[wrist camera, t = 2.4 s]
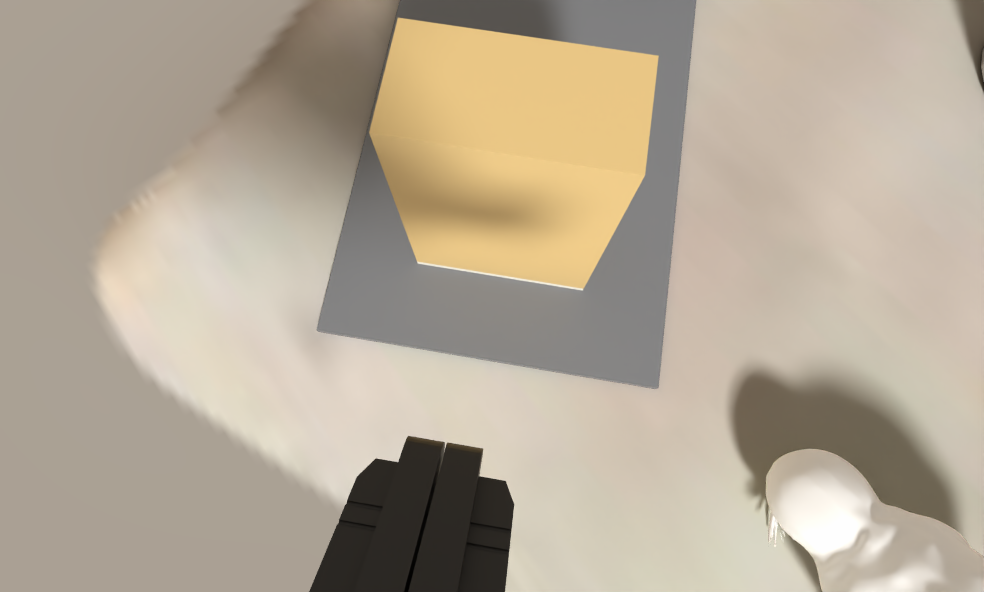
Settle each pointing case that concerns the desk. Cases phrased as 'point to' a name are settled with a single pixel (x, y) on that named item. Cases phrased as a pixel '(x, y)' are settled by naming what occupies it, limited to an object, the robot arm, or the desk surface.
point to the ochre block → (511, 148)
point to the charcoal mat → (514, 303)
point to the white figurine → (864, 531)
